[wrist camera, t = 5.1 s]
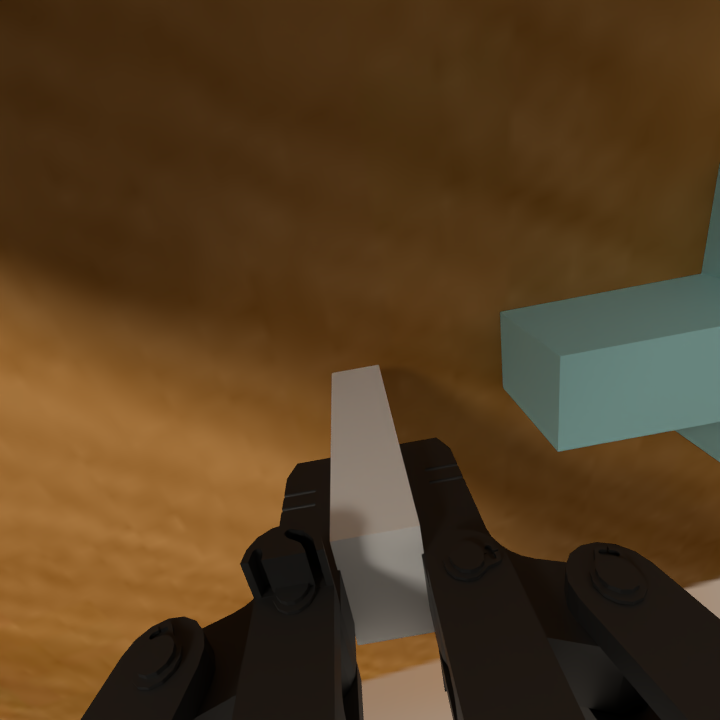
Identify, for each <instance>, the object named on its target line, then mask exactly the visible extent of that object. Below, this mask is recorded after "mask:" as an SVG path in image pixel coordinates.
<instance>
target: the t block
mask: <svg viewBox="0 0 720 720" xmlns="http://www.w3.org/2000/svg"><path fill="white" fill-rule="evenodd" d="M500 323H501V349H502V375H503V388H504V389H505V390H506V392H507V393H508V394H509V395H510V396H511V397H512V399H513V400H514V401H515V402H516V403H517V405H518V406H519V407H520V408H521V409H522V410H523V412H524V413H525V414H526V415H527V416H528V417H529V419H530V420H531V421H532V422H533V423H534V424H535V426H536V427H537V428H538V429H539V430H540V431H541V433H542V434H543V435H544V436H545V437H546V438H547V440H548V441H549V442H550V443H551V444H552V445H553V447H554V448H555V449H556V450H557V451H558V452H559V451H565V450H570V449H575V448H581V447H586V446H592V445H597V444H602V443H608V442H613V441H619V440H624V439H629V438H635V437H640V436H646V435H651V434H656V433H662V432H667V431H673V430H675V431H676V432H678V433H679V434H681V435H682V436H683V437H685V438H686V439H688V440H689V441H691V442H692V443H693V444H695V445H696V446H698V447H699V448H700V449H702V450H703V451H705V452H706V453H707V454H709V455H710V456H712V457H713V458H715V459H716V460H717V461H719V462H720V164H719V170H718V176H717V182H716V188H715V194H714V200H713V206H712V212H711V218H710V224H709V230H708V236H707V242H706V248H705V254H704V260H703V266H702V272H701V274H697V275H691V276H686V277H681V278H675V279H670V280H665V281H660V282H654V283H649V284H644V285H639V286H633V287H628V288H623V289H618V290H612V291H607V292H602V293H597V294H591V295H586V296H581V297H576V298H570V299H565V300H560V301H555V302H549V303H544V304H539V305H534V306H528V307H523V308H518V309H513V310H507V311H502V312H500Z"/></svg>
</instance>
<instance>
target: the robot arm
mask: <svg viewBox="0 0 720 720" xmlns="http://www.w3.org/2000/svg"><path fill="white" fill-rule="evenodd" d="M282 510H283V512H282V513H281V519H280V526H278V527H275V528H272V529H270V530H269V531H267V532H266V533H264V534H263V535H261V536H260V537H258V538H257V539H256V540H255V541H254V542H253V543H252V544H251V546H250V547H249V548H248V549H247V550H246V552H245V554H244V557H243V559H242V561H241V563H240V565H241V567H242V570H243V572H244V575H245V577H246V580H247V582H248V584H249V587H250V589H251V592H252V594H253V597H254V599H253V600H252V601H251V602H249V603H248V604H247V605H246V606H245V607H243V608H241V609H240V610H238V611H236V612H235V613H233V614H231V615H229V616H227V617H225V618H223V619H221V620H219V621H217V622H215V623H213V624H211V625H209V626H206V627H204V628H201V627H200V626H199V624H198V623H197V621H195V620H192V619H190V618H187V617H178V618H170V619H167V620H165V621H163V622H161V623H159V624H157V625H155V626H152V627H151V628H150V629H149V630H147V631H146V632H145V633H144V634H142V635H141V636H140V637H139V638H137V639H136V640H135V641H134V642H133V644H132V645H131V646H130V647H129V649H128V650H127V651H126V652H125V653H124V655H123V656H122V657H121V659H120V660H119V662H118V663H117V665H116V666H115V668H114V669H113V671H112V672H111V674H110V675H109V677H108V679H107V680H106V682H105V683H104V685H103V686H102V688H101V689H100V691H99V692H98V694H97V695H96V697H95V699H94V700H93V702H92V703H91V705H90V706H89V708H88V709H87V711H86V712H85V714H84V715H83V717H82V718H81V720H363V703H362V685H361V677H360V673H359V669H358V665H357V662H356V644H355V636H356V639H357V643H358V645H362V644H368V643H374V642H379V641H385V640H391V639H397V638H403V637H408V636H414V635H420V634H426V633H432V632H435V634H436V638H437V643H438V647H439V654H440V660H441V667H442V674H443V681H444V687H445V691H447V693H448V698H449V702H450V707H451V712H452V716H453V720H720V619H719V618H718V617H717V616H715V615H714V614H713V613H712V612H711V611H709V610H708V609H707V608H706V607H704V606H703V605H702V604H701V603H700V602H699V601H697V600H696V599H695V598H694V597H693V596H691V595H690V594H689V593H688V592H687V591H686V590H684V589H683V588H682V587H681V586H680V585H678V584H677V583H676V582H675V581H674V580H672V579H671V578H670V577H669V576H668V575H666V574H665V573H664V572H663V571H662V570H660V569H659V568H658V567H657V566H656V565H654V564H653V563H652V562H650V561H649V560H647V559H646V558H644V557H643V556H641V555H640V554H638V553H637V552H635V551H633V550H630V549H627V548H624V547H622V546H619V545H616V544H609V543H599V542H595V543H590V544H586V545H581V546H580V547H578V548H577V549H576V550H574V551H573V552H572V553H570V555H569V558H568V561H567V562H559V561H550V560H542V559H534V558H530V557H525V556H521V555H519V554H516V553H514V552H511V551H509V550H508V549H506V548H505V547H503V546H501V545H500V544H499V543H498V542H497V541H496V540H495V539H494V538H493V537H492V536H491V535H490V534H489V532H488V530H487V529H486V527H485V525H484V523H483V520H482V518H481V516H480V514H479V511H478V509H477V507H476V505H475V503H474V500H473V498H472V496H471V494H470V491H469V489H468V487H467V485H466V483H465V480H464V479H463V477H462V474H461V471H460V469H459V467H458V466H457V463H456V460H455V458H454V456H453V454H452V452H451V449H450V448H449V447H448V446H446V445H445V444H444V443H443V442H441V441H440V440H439V439H437V438H431V439H426V440H420V441H414V442H409V443H403V444H399V442H398V438H397V434H396V431H395V427H394V423H393V419H392V415H391V411H390V407H389V403H388V399H387V395H386V392H385V388H384V384H383V380H382V376H381V372H380V368H379V365H374V366H369V367H363V368H357V369H352V370H346V371H341V372H335V373H332V400H331V458H327V459H321V460H316V461H310V462H304V463H299V464H297V465H296V467H295V468H294V470H293V471H292V473H291V474H290V475H289V477H288V478H287V483H286V489H285V498H284V501H283V507H282Z"/></svg>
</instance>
